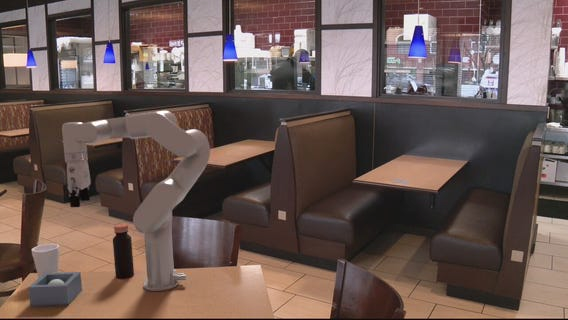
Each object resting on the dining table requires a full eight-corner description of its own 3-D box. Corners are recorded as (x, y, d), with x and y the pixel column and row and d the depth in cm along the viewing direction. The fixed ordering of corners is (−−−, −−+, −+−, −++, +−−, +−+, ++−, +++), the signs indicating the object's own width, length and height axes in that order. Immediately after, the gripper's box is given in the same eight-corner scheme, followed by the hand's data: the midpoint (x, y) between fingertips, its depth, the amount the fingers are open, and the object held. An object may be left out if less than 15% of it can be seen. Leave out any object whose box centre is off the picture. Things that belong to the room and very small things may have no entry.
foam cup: (67, 276, 198) (64, 243, 196) (54, 285, 189) (50, 251, 187) (43, 275, 199) (40, 243, 197) (29, 285, 190) (26, 251, 188)
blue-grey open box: (82, 290, 184) (80, 271, 183) (68, 305, 171) (66, 285, 170) (46, 291, 184) (44, 273, 183) (30, 307, 171) (28, 287, 170)
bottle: (136, 276, 195) (132, 226, 192) (117, 280, 192) (113, 229, 189) (131, 271, 201) (128, 221, 198) (114, 274, 198) (109, 224, 195)
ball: (69, 292, 180) (67, 276, 180) (62, 299, 175) (60, 282, 174) (52, 293, 180) (50, 276, 180) (44, 300, 174) (42, 283, 174)
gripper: (77, 160, 175) (82, 209, 177) (94, 153, 192) (98, 197, 194) (55, 161, 174) (60, 210, 177) (74, 153, 192) (78, 198, 194)
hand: (80, 203), depth 186 cm, fingers open, 9 cm apart
